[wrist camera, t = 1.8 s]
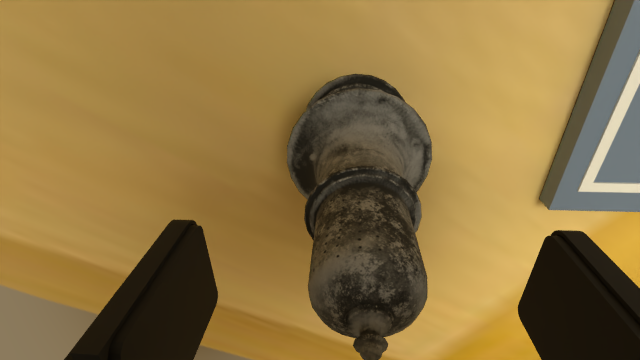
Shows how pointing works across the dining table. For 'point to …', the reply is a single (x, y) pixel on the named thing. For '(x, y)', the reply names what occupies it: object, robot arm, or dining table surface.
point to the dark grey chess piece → (362, 207)
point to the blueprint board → (603, 126)
